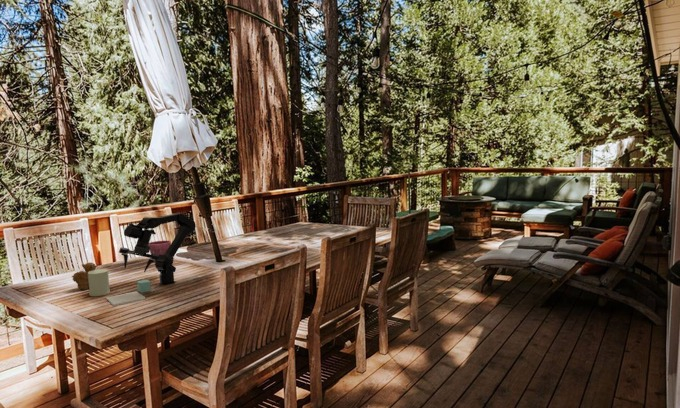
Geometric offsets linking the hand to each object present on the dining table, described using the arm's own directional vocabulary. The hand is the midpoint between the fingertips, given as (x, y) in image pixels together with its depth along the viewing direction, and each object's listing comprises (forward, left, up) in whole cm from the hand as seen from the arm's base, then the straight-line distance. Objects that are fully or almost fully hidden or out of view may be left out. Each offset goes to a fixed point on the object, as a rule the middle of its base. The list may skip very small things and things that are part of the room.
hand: (134, 270), depth 215 cm
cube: (-4, 0, -11) cm, 12 cm away
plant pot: (-34, -64, -12) cm, 73 cm away
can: (+14, -12, -12) cm, 22 cm away
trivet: (+7, +8, -11) cm, 16 cm away
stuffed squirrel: (+16, -28, -12) cm, 34 cm away
